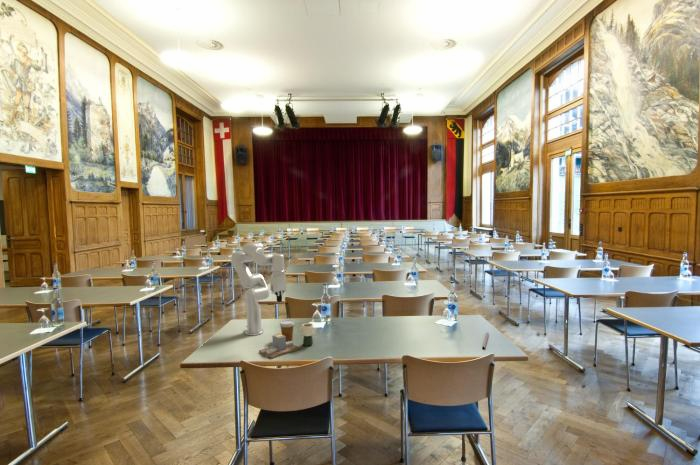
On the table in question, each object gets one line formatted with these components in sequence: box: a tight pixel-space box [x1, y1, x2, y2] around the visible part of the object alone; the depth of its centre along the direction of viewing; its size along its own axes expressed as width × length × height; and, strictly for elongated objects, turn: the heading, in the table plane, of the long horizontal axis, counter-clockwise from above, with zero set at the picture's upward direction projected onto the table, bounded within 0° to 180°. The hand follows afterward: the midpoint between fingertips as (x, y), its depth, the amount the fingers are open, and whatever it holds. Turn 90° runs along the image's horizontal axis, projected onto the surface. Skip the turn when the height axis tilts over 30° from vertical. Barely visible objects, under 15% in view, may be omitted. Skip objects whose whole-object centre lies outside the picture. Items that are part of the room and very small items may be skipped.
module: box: [271, 333, 287, 351], centre depth 223 cm, size 7×5×8 cm
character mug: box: [298, 322, 317, 347], centre depth 231 cm, size 11×7×13 cm, turn 82°
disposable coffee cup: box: [279, 319, 295, 342], centre depth 241 cm, size 10×10×12 cm
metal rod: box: [481, 332, 490, 350], centre depth 232 cm, size 2×27×2 cm, turn 155°
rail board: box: [258, 340, 300, 360], centre depth 223 cm, size 14×20×3 cm
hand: (279, 301), depth 235 cm, fingers closed
